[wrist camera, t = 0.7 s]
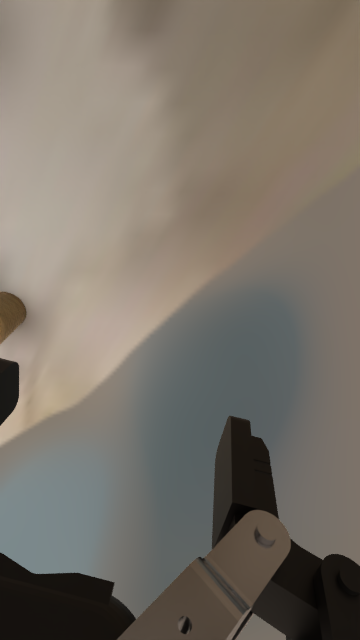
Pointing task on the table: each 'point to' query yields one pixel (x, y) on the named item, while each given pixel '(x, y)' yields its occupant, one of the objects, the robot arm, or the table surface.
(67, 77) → the table surface
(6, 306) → the brass pin
